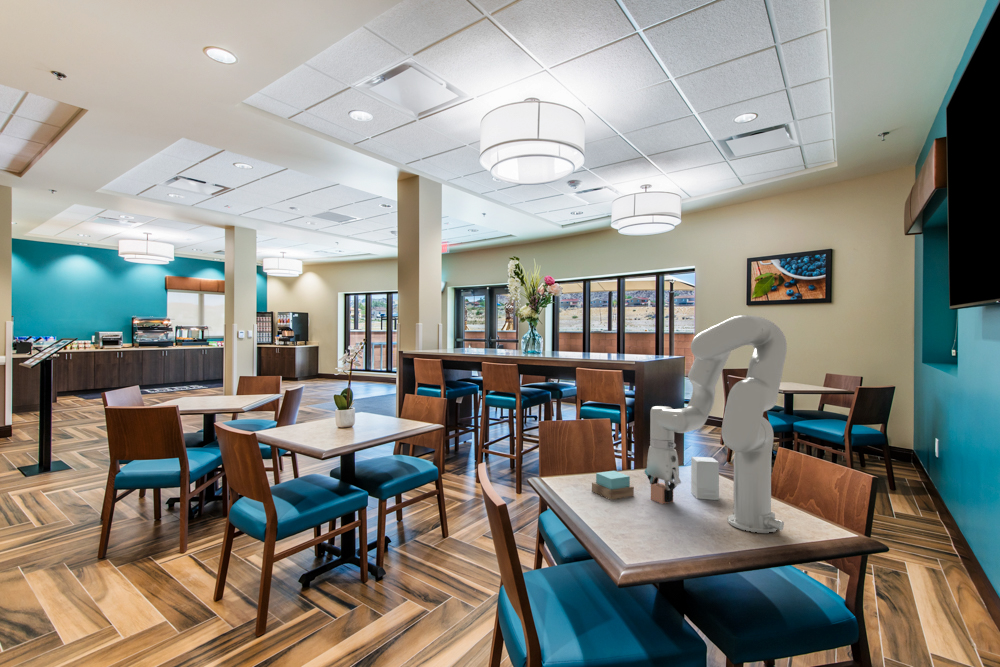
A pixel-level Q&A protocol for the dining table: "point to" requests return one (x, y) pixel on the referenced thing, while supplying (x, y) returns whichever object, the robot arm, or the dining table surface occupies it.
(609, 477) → the teal top slab
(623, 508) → the dining table surface
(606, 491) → the walnut base slab
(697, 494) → the supplement box
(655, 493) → the salmon orange cube
